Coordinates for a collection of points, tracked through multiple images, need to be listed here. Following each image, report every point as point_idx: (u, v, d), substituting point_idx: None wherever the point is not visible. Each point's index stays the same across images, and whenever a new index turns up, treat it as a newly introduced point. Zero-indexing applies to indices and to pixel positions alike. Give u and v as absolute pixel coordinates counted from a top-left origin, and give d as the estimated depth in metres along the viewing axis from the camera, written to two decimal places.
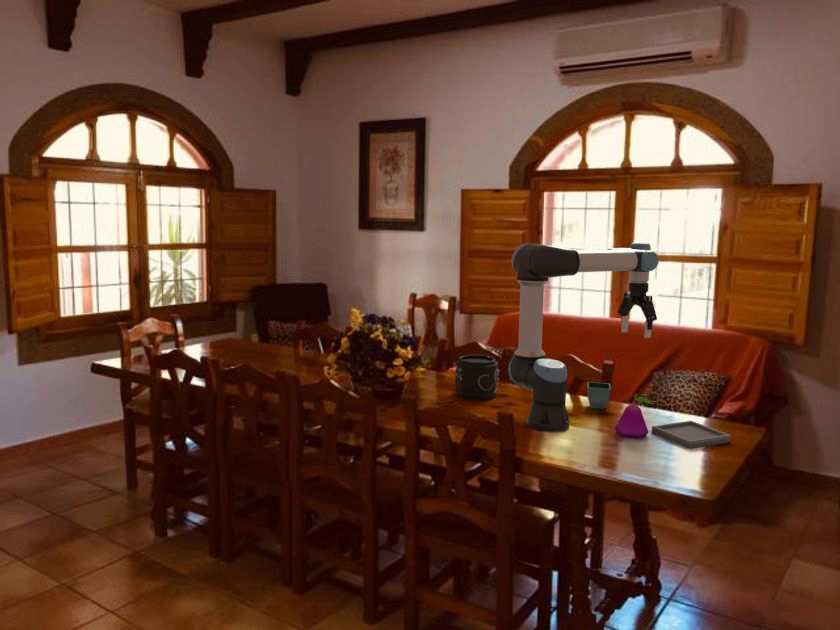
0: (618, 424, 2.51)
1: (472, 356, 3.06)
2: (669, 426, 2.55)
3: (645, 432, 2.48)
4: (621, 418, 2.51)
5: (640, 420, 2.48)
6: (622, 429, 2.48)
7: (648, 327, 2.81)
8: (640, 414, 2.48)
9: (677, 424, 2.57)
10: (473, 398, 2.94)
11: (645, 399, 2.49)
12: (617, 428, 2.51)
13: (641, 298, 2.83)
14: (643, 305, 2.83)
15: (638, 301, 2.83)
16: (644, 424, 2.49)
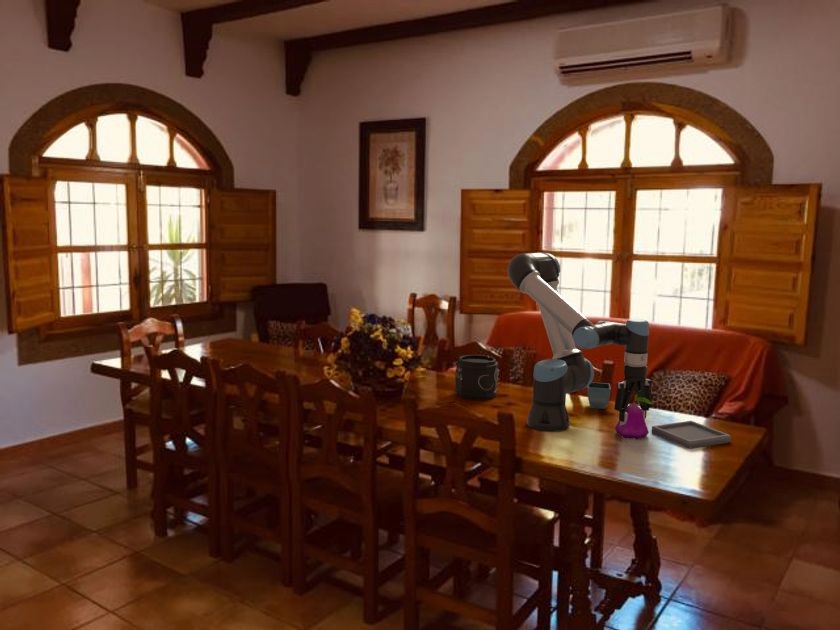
0: (618, 424, 2.51)
1: (472, 356, 3.06)
2: (669, 426, 2.55)
3: (645, 432, 2.48)
4: None
5: (641, 420, 2.48)
6: (622, 429, 2.48)
7: None
8: (640, 414, 2.48)
9: (677, 424, 2.57)
10: (473, 398, 2.94)
11: (645, 399, 2.49)
12: (617, 428, 2.51)
13: None
14: (625, 392, 2.48)
15: None
16: (644, 424, 2.48)
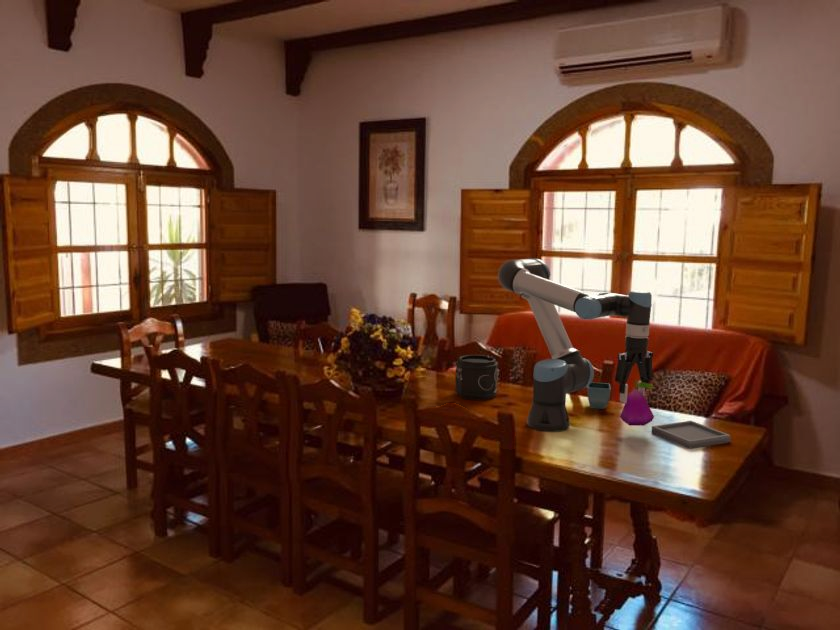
0: (623, 412, 2.51)
1: (472, 356, 3.06)
2: (669, 426, 2.55)
3: (650, 417, 2.48)
4: (625, 406, 2.50)
5: (644, 406, 2.47)
6: (627, 417, 2.48)
7: None
8: (643, 400, 2.48)
9: (677, 424, 2.57)
10: (473, 398, 2.94)
11: (646, 384, 2.48)
12: (622, 416, 2.51)
13: None
14: (626, 364, 2.47)
15: None
16: (648, 409, 2.48)
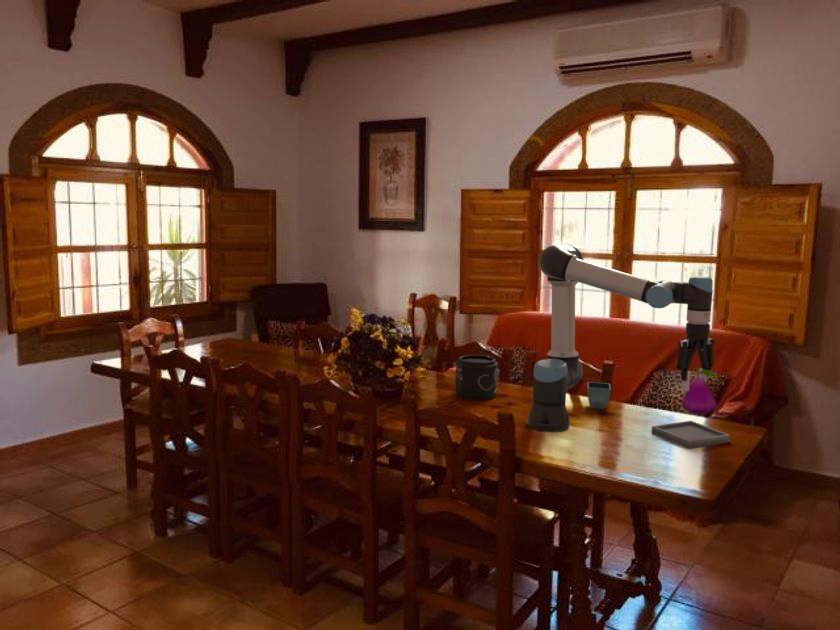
0: (684, 400, 2.47)
1: (472, 356, 3.06)
2: (669, 426, 2.55)
3: (713, 404, 2.44)
4: (687, 394, 2.47)
5: (707, 393, 2.44)
6: (690, 405, 2.44)
7: None
8: (706, 387, 2.44)
9: (677, 424, 2.57)
10: (473, 398, 2.94)
11: (708, 371, 2.45)
12: (684, 404, 2.47)
13: None
14: (687, 351, 2.44)
15: None
16: (711, 396, 2.44)
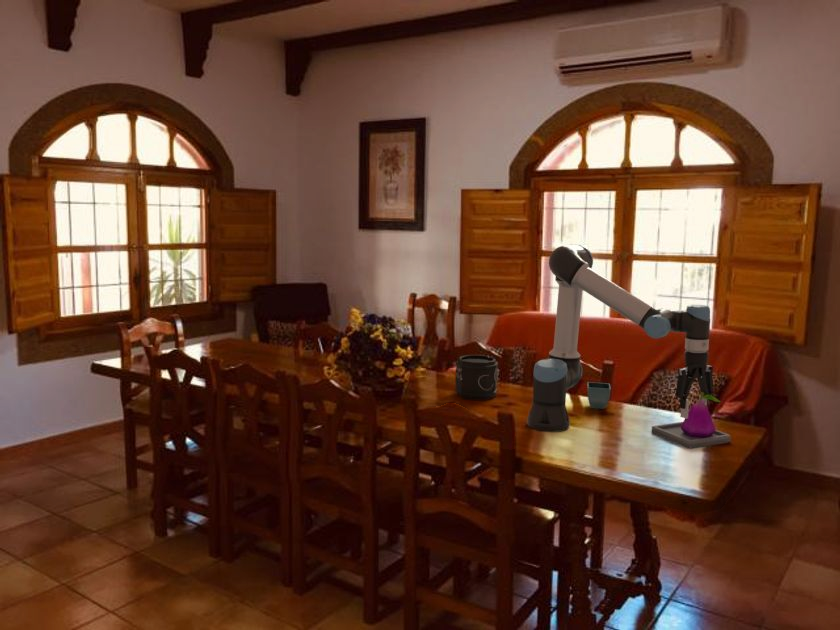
0: (684, 423, 2.48)
1: (472, 356, 3.06)
2: (669, 426, 2.55)
3: (712, 430, 2.45)
4: None
5: (708, 418, 2.45)
6: (689, 428, 2.45)
7: None
8: (707, 412, 2.45)
9: (677, 424, 2.57)
10: (473, 398, 2.94)
11: (712, 397, 2.46)
12: (683, 427, 2.48)
13: None
14: (686, 379, 2.45)
15: (687, 372, 2.46)
16: (711, 422, 2.46)
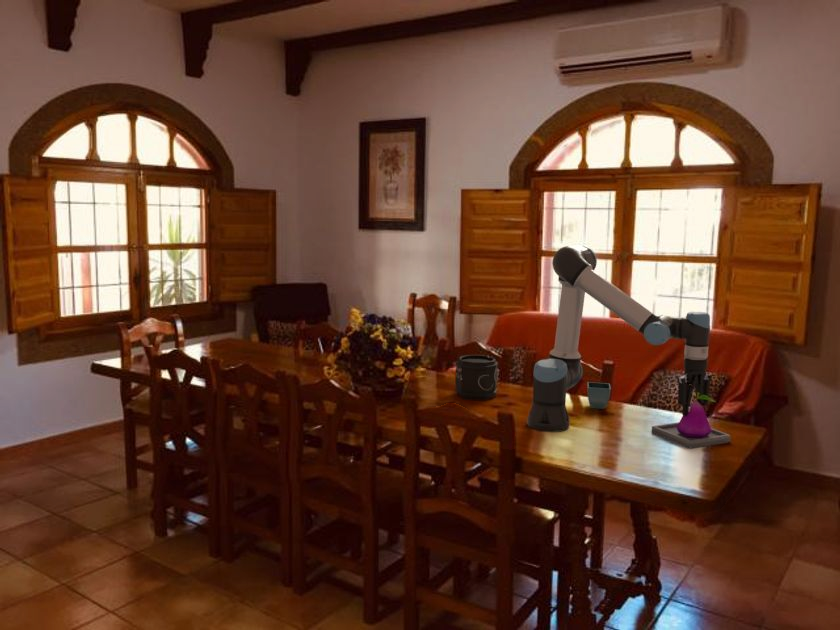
0: (680, 423, 2.47)
1: (472, 356, 3.06)
2: (669, 426, 2.55)
3: (708, 431, 2.45)
4: (683, 417, 2.47)
5: (704, 418, 2.44)
6: (686, 428, 2.44)
7: None
8: (703, 412, 2.45)
9: (677, 424, 2.57)
10: (473, 398, 2.94)
11: (707, 397, 2.46)
12: (679, 427, 2.47)
13: None
14: (687, 386, 2.46)
15: None
16: (707, 422, 2.45)
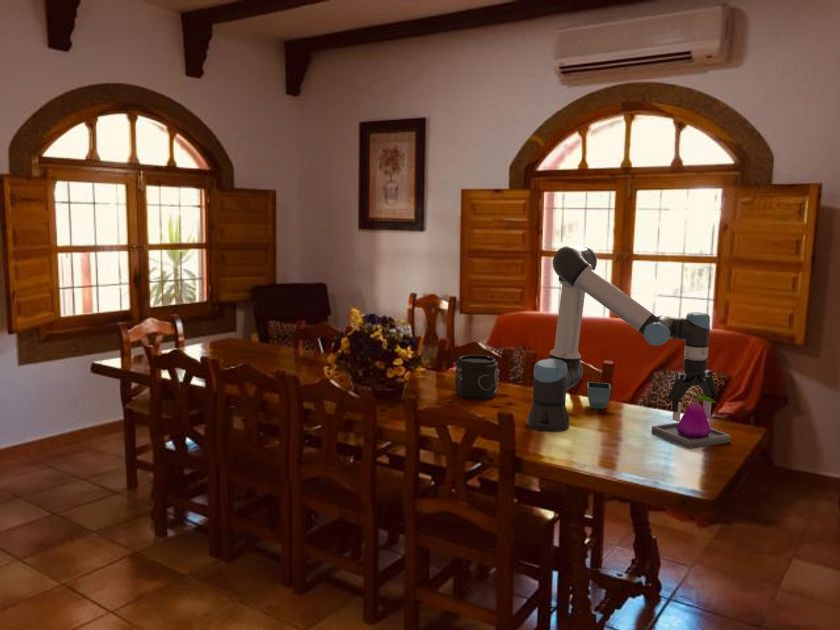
0: (680, 423, 2.47)
1: (472, 356, 3.06)
2: (669, 426, 2.55)
3: (708, 431, 2.45)
4: (683, 417, 2.47)
5: (704, 419, 2.44)
6: (685, 428, 2.44)
7: None
8: (703, 413, 2.45)
9: (677, 424, 2.57)
10: (473, 398, 2.94)
11: (708, 398, 2.45)
12: (679, 427, 2.47)
13: None
14: (683, 384, 2.45)
15: (685, 379, 2.46)
16: (707, 423, 2.45)
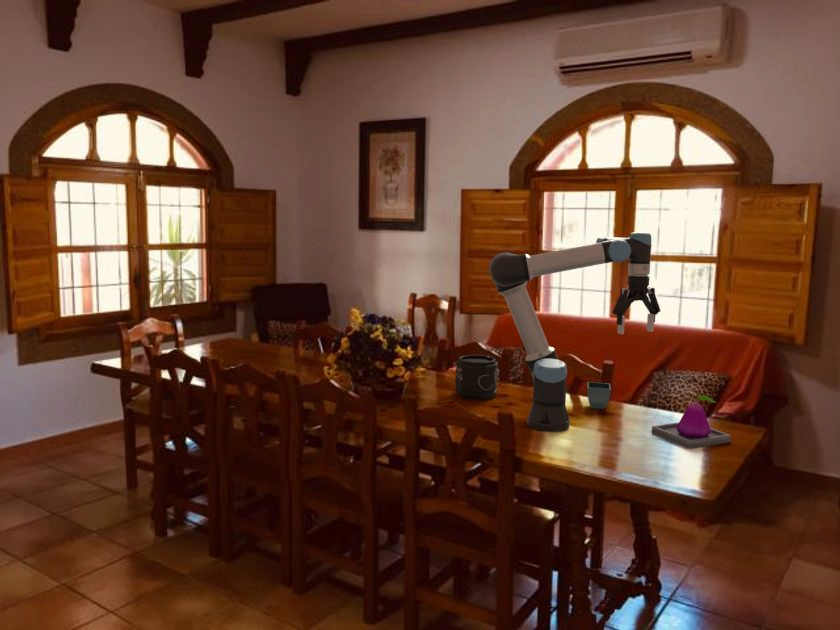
0: (680, 423, 2.47)
1: (472, 356, 3.06)
2: (669, 426, 2.55)
3: (708, 431, 2.45)
4: (683, 417, 2.47)
5: (704, 419, 2.44)
6: (685, 428, 2.44)
7: None
8: (703, 413, 2.45)
9: (677, 424, 2.57)
10: (473, 398, 2.94)
11: (708, 398, 2.45)
12: (679, 428, 2.47)
13: None
14: (627, 299, 2.63)
15: (629, 295, 2.64)
16: (707, 423, 2.45)
